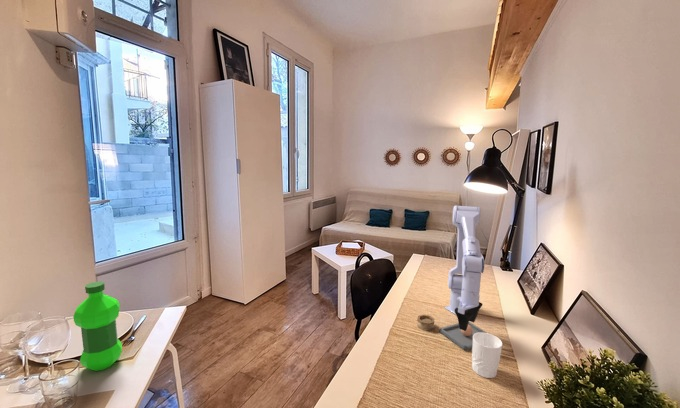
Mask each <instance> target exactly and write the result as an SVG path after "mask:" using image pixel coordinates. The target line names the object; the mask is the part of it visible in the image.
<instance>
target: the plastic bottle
mask: <svg viewBox="0 0 680 408" xmlns="http://www.w3.org/2000/svg"><path fill="white" fill-rule="evenodd" d="M105 285H106V284H105V282H104V281H102V280H101V281H94V282H90V283H88V284H86V285H85V289H84V290H85V293H86V294H87V295H88V297H86V299H84V300H83V301H82V302H81V303H80V304H79V305H77V307H76V309H75V311H74V314H73V323H74V324H75V326H77V327H79V328H80V330H81V331H80V332H81V339H82V347H83V350H82V352H81V355H80V358H79V362H80V365H82V366H83V367H84V368H86V369H88V370H91V371H94V372H96V371H97V372H99V371H104V370H106V369H108V368H110V367H111V366H112V365H114V363H115V362H116V361H117V360H118V359H120V357H121V355H122V352H123V351H122V350H123V343H122V342H121V340H120V339H119V338H118V330H117V328H118V327H117V319H118V318H119V314H120V308H121V307H120V306H121V305H120V304H121V303H120V302H119V300H118V299H116V298H115V297H112V296H109V295H108V294H104V290H105V289H106V287H105Z"/></svg>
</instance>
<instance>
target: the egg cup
mask: <svg viewBox="0 0 680 408" xmlns="http://www.w3.org/2000/svg"><path fill="white" fill-rule="evenodd" d="M416 321H417V328H418V329H420V330H422V331H425V332H426V331H427V332H429V331H432V330H433V331H434V328H435V318H434V317H433V316H431V315H429V314H420V315H417V320H416Z"/></svg>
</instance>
